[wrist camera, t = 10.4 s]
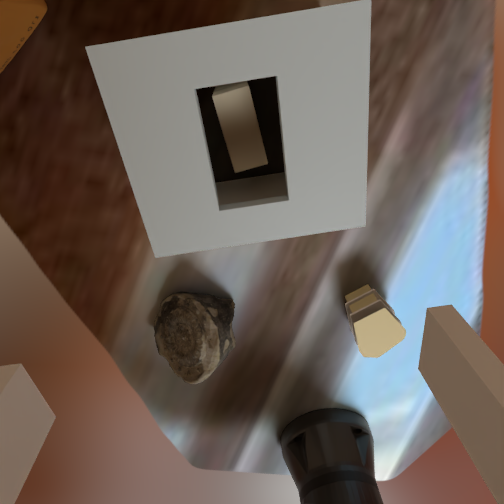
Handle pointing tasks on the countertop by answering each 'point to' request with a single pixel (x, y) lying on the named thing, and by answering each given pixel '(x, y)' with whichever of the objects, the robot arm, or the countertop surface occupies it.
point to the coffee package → (17, 25)
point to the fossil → (194, 334)
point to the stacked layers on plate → (372, 322)
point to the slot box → (291, 122)
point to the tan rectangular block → (239, 125)
